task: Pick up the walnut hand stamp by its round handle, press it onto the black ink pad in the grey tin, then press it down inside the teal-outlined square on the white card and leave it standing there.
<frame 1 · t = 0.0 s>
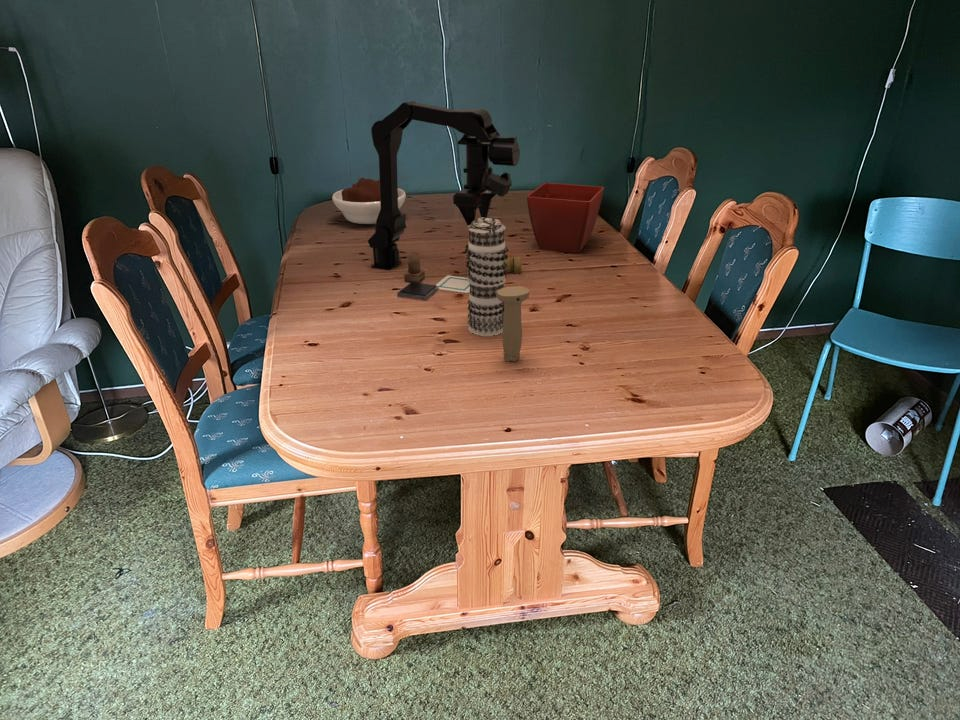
hand: (478, 224, 168), 15 cm above the table, tool pointing down, fingers open, 9 cm apart
plant pot: (562, 246, 199), on the table
ink pad: (418, 293, 165), on the table
handle: (511, 359, 133), on the table
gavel: (501, 264, 186), on the table
stamp: (414, 280, 173), on the table
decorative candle: (486, 329, 146), on the table
bowl of chocolate pudding: (371, 221, 225), on the table
print card: (457, 284, 170), on the table
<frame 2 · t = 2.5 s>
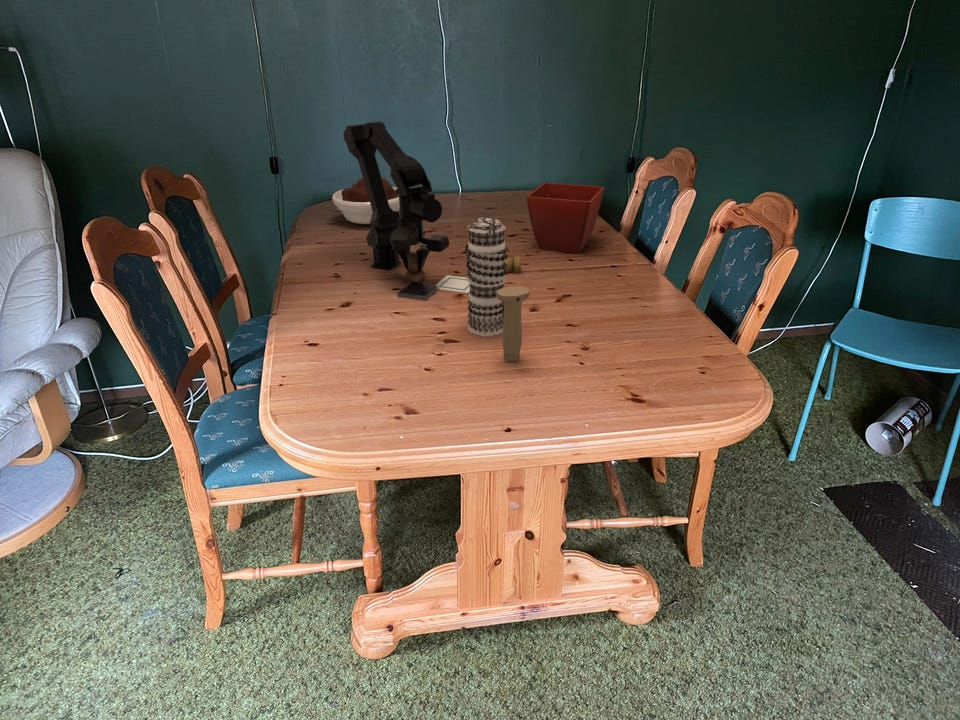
hand: (414, 271, 172), 3 cm above the table, tool pointing down, fingers closed on stamp, 3 cm apart
stamp: (414, 280, 173), on the table, touching gripper
everything else where it was.
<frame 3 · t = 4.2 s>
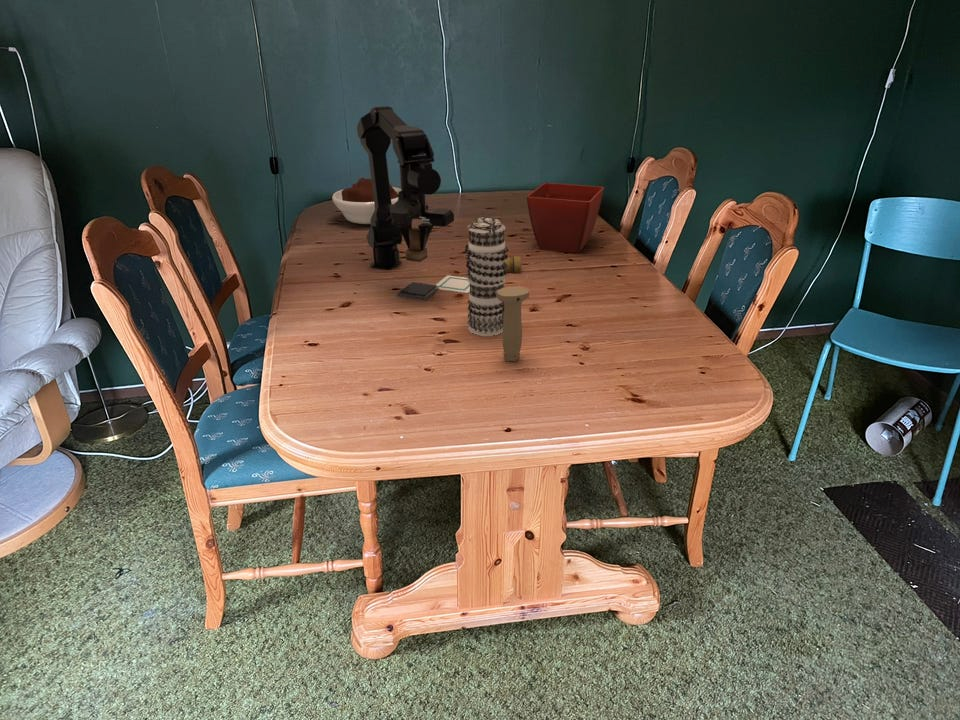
hand: (416, 248, 160), 12 cm above the table, tool pointing down, fingers closed on stamp, 3 cm apart
stamp: (416, 258, 161), point 9 cm above the table, touching gripper
everything else where it was.
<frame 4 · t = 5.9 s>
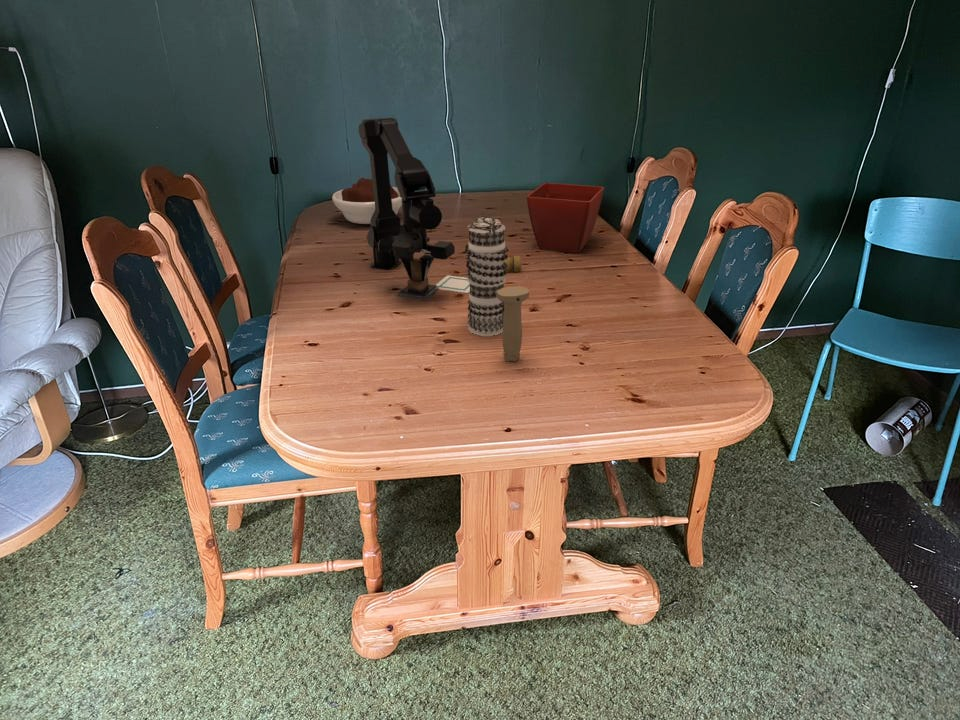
hand: (417, 279, 163), 4 cm above the table, tool pointing down, fingers closed on stamp, 3 cm apart
stamp: (418, 288, 165), point 1 cm above the table, touching gripper, ink pad
everything else where it was.
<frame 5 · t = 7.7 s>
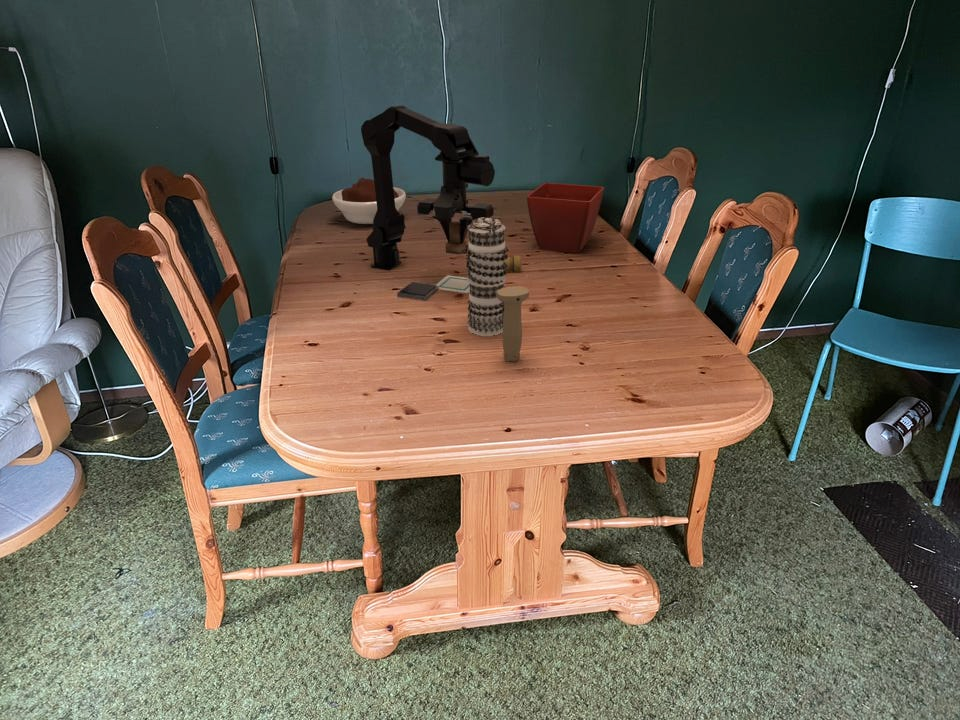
hand: (455, 242, 165), 12 cm above the table, tool pointing down, fingers closed on stamp, 3 cm apart
stamp: (456, 251, 166), point 9 cm above the table, touching gripper
everything else where it was.
when the fingers open (3 cm above the table, at t = 9.4 s): stamp stays where it is, resting on print card.
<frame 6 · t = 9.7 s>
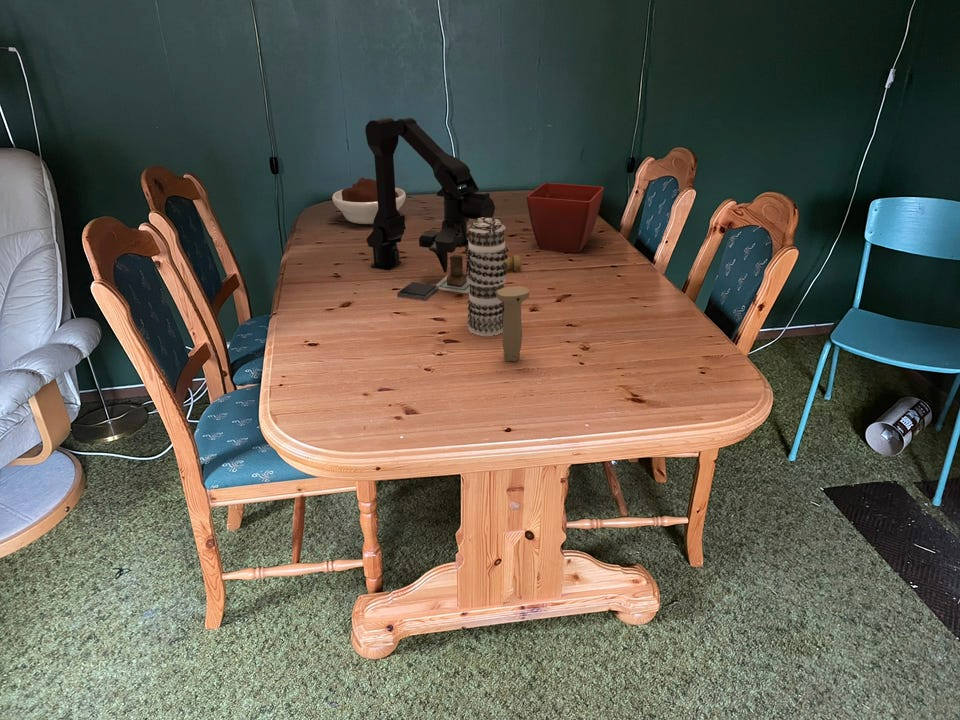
hand: (456, 273, 169), 3 cm above the table, tool pointing down, fingers open, 6 cm apart
stamp: (456, 283, 170), resting on print card
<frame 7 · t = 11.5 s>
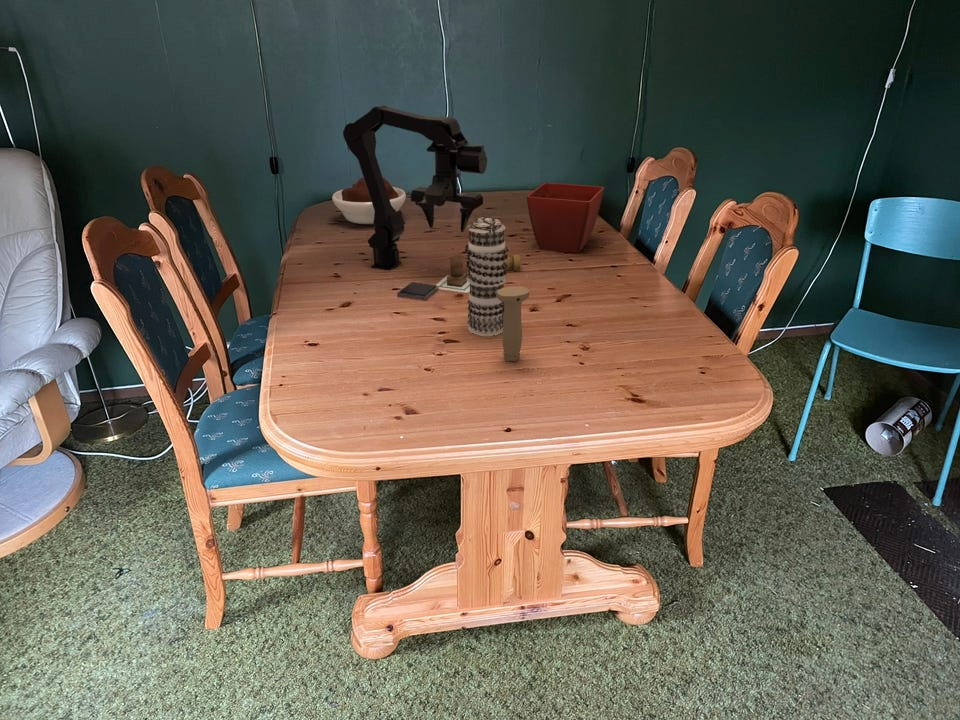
hand: (446, 229, 172), 12 cm above the table, tool pointing down, fingers open, 9 cm apart
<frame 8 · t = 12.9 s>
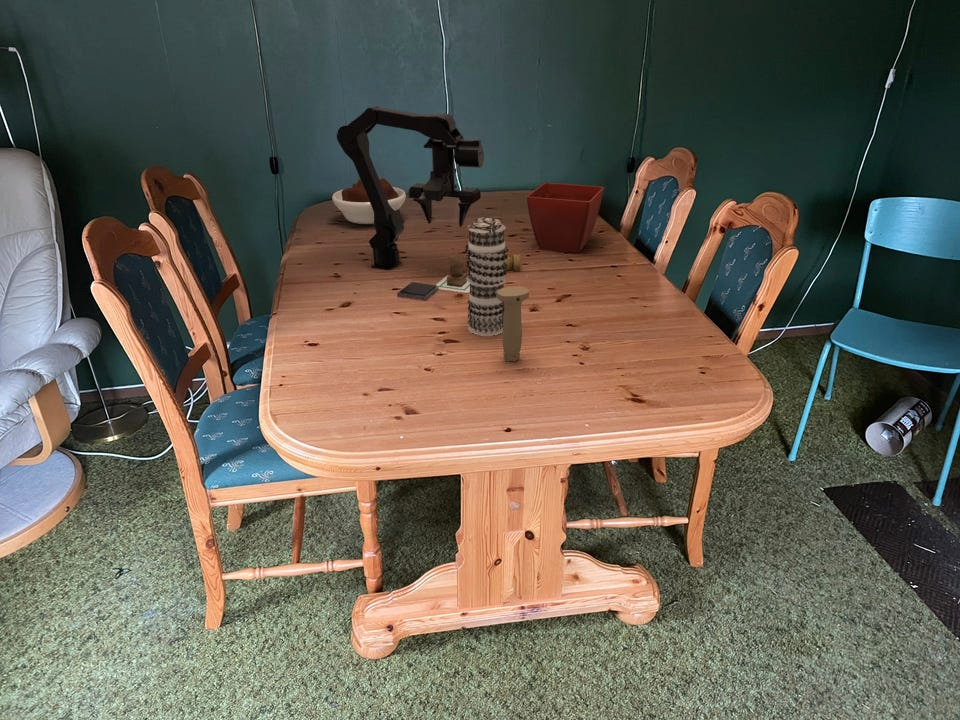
hand: (445, 224, 174), 13 cm above the table, tool pointing down, fingers open, 9 cm apart
at the end: stamp 0.0 cm off-centre on the print card, point 0.2 cm above the print card's base; stamp tilted 0°; the gripper is holding nothing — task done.
